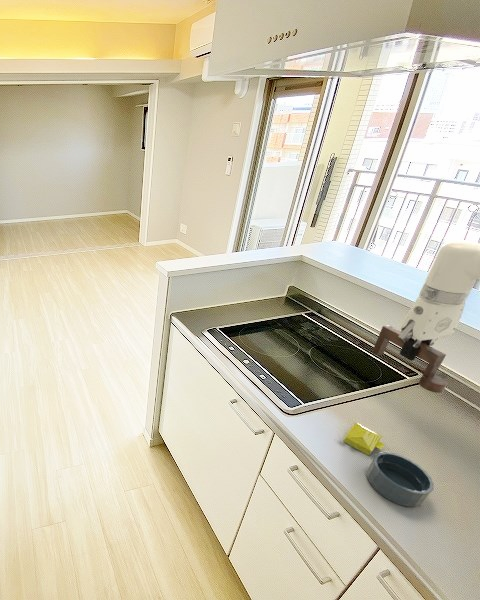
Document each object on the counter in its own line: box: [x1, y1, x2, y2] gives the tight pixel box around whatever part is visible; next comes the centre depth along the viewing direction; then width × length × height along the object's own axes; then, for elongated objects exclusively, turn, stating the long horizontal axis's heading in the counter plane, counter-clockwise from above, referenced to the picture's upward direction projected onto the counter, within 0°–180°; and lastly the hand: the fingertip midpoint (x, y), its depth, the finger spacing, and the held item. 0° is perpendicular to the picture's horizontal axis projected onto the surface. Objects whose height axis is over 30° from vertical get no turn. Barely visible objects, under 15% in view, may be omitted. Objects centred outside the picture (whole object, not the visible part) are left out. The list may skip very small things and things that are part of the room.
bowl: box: [365, 451, 435, 508], centre depth 71 cm, size 10×10×5 cm
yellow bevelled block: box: [343, 421, 390, 456], centre depth 82 cm, size 10×9×3 cm
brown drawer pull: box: [371, 324, 448, 394], centre depth 86 cm, size 17×4×9 cm, turn 8°
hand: (411, 356), depth 86 cm, fingers closed on brown drawer pull, 2 cm apart
